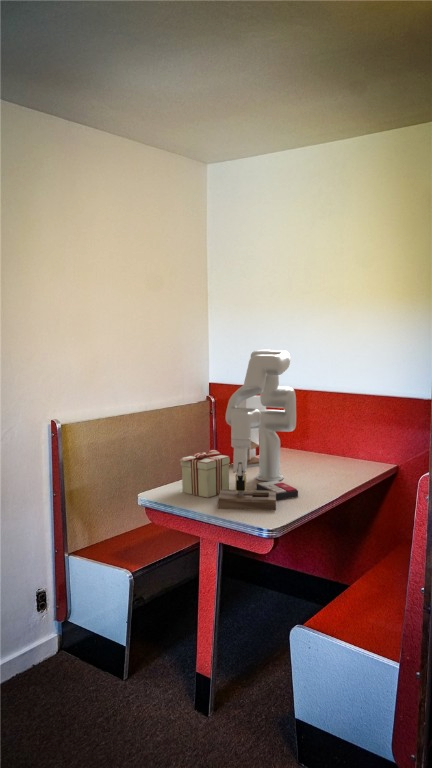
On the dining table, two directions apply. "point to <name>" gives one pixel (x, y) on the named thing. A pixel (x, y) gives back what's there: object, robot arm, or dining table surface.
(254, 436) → the white slotted tower
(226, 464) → the gift box
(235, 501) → the keyhole board
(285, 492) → the calculator
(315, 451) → the dining table surface
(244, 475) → the peg
